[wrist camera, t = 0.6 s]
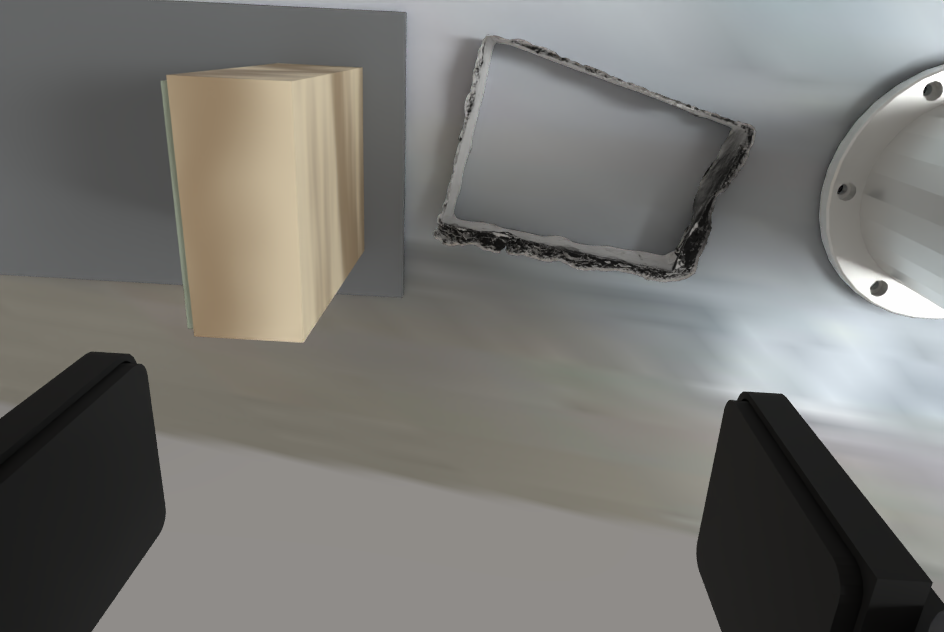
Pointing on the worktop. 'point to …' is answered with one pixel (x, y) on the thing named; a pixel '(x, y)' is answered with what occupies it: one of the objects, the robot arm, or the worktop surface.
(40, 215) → the rubber mat
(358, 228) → the maple plaque
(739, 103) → the worktop surface
